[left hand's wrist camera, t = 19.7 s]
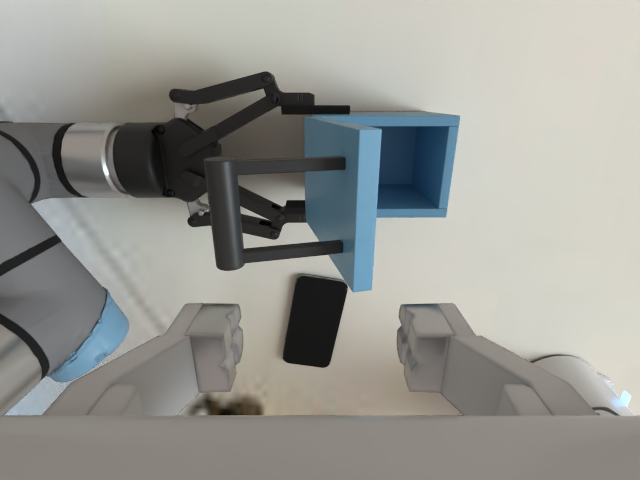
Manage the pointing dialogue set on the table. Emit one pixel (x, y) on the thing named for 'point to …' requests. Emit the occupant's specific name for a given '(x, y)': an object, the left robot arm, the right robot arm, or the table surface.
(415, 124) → the chest
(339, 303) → the smartphone
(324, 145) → the lid
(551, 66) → the table surface
